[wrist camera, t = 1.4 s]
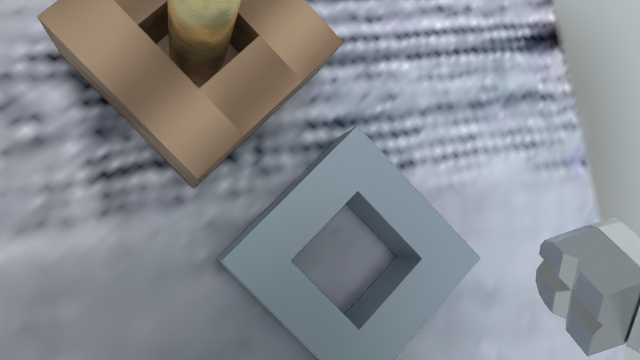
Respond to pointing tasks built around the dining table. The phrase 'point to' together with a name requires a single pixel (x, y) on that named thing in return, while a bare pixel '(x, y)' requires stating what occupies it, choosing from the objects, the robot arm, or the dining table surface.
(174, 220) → the dining table surface
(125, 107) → the walnut bore block
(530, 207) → the dining table surface
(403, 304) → the slate socket block
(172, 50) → the brass peg
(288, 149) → the dining table surface
